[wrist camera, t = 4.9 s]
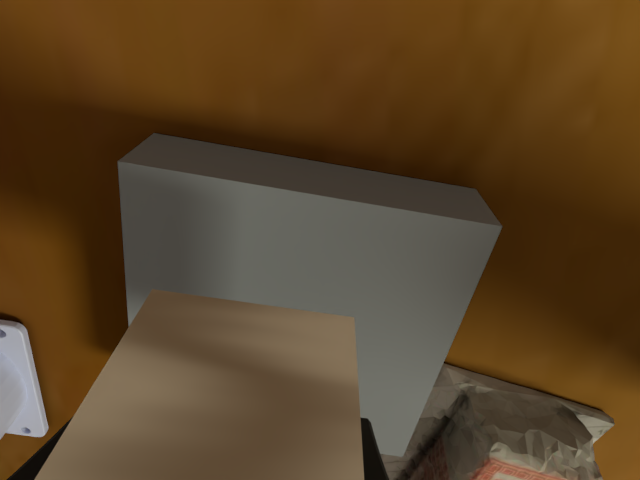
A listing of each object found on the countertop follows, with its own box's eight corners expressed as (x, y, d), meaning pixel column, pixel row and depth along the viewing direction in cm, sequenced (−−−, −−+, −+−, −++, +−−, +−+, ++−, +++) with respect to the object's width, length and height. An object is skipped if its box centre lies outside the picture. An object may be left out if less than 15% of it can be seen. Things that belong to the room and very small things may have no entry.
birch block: (158, 422, 13) (70, 638, 9) (152, 289, 11) (24, 494, 6) (322, 443, 13) (317, 661, 9) (354, 317, 11) (367, 533, 6)
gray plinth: (159, 368, 22) (134, 420, 19) (154, 132, 16) (117, 161, 13) (395, 402, 22) (402, 457, 20) (475, 188, 16) (502, 226, 14)
